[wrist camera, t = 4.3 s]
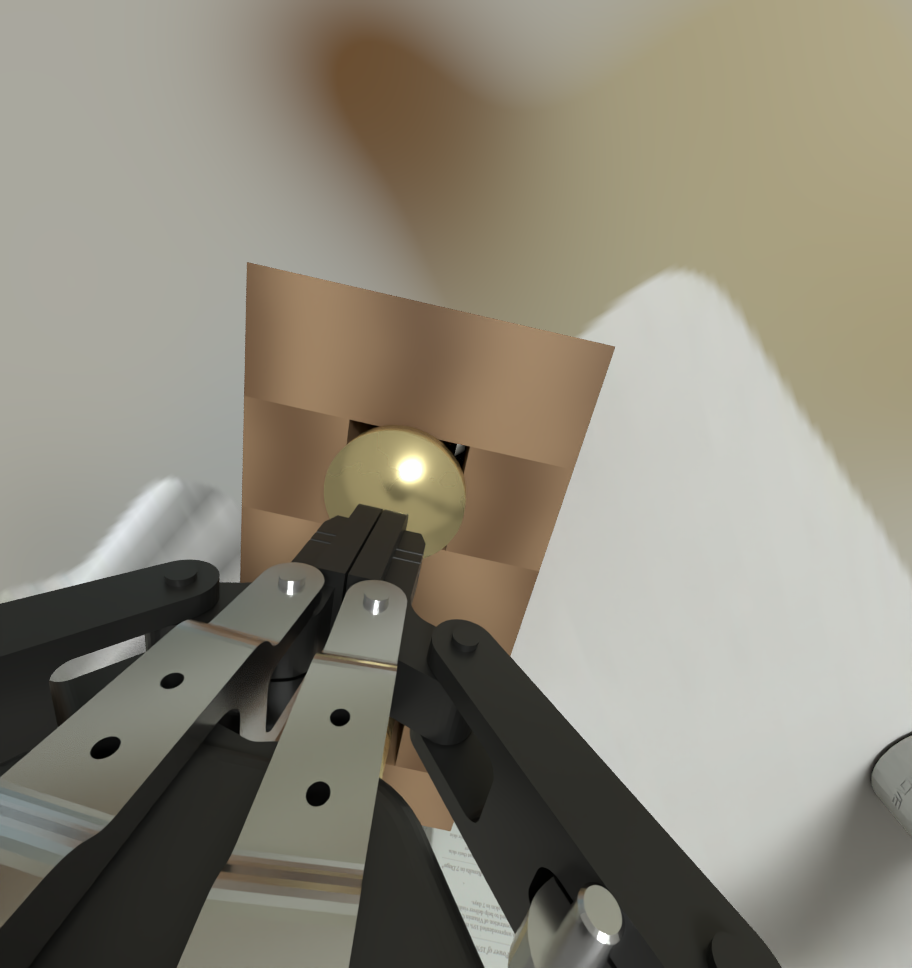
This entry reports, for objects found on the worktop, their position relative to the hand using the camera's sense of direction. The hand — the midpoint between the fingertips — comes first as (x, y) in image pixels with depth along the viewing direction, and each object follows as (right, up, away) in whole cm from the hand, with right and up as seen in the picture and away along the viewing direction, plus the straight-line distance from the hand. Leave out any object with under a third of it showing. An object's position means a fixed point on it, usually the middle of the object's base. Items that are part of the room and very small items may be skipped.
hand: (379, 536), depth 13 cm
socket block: (-1, -2, +13) cm, 13 cm away
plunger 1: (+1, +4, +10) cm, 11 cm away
